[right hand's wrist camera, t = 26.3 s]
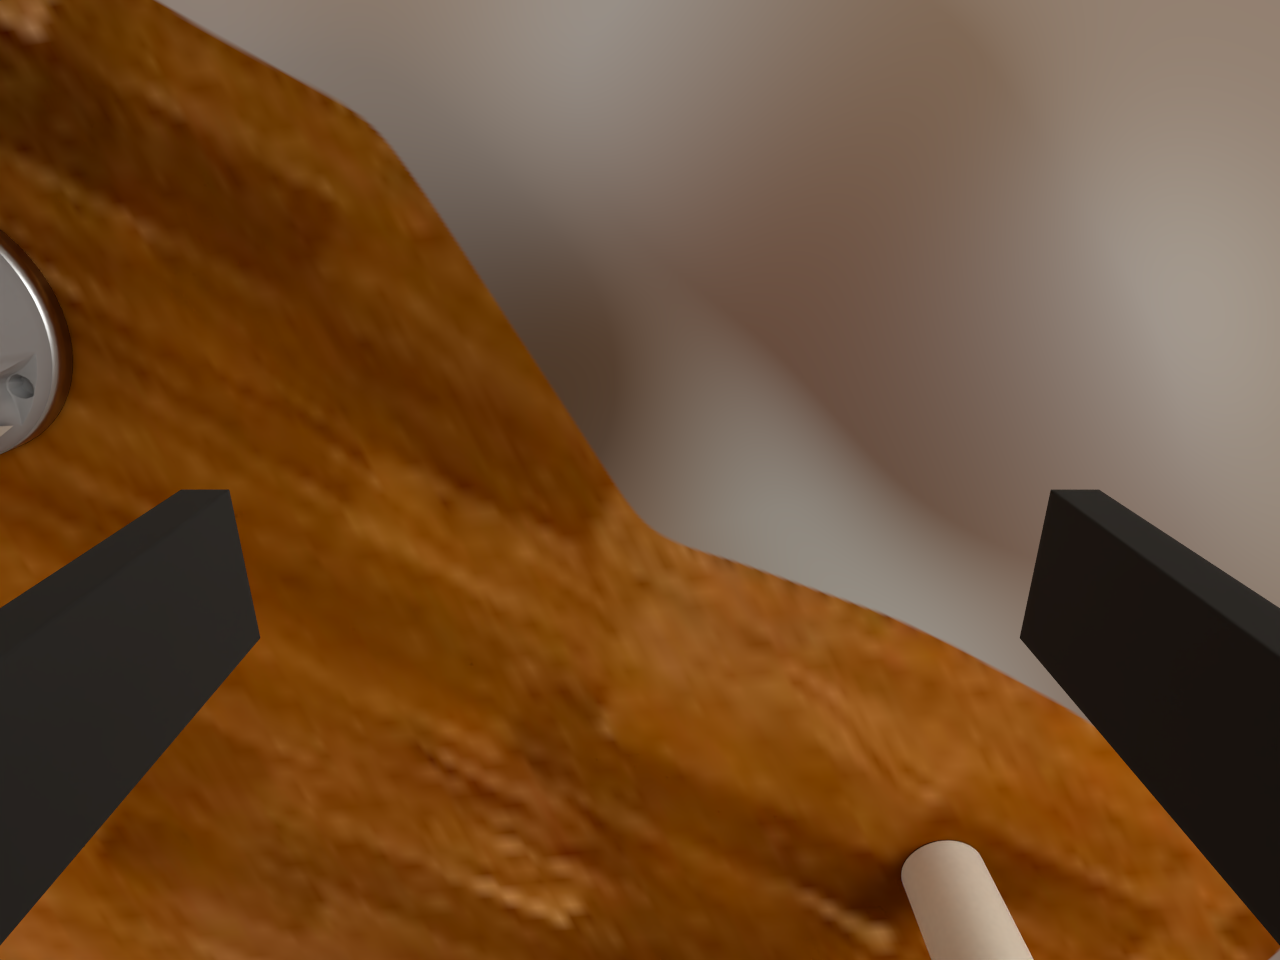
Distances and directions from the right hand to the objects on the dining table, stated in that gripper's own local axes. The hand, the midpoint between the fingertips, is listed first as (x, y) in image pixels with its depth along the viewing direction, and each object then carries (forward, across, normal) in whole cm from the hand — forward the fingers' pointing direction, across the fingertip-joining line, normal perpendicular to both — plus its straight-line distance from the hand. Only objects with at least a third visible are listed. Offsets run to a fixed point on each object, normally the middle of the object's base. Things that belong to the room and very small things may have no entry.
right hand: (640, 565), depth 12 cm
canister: (+33, +24, -44) cm, 60 cm away
